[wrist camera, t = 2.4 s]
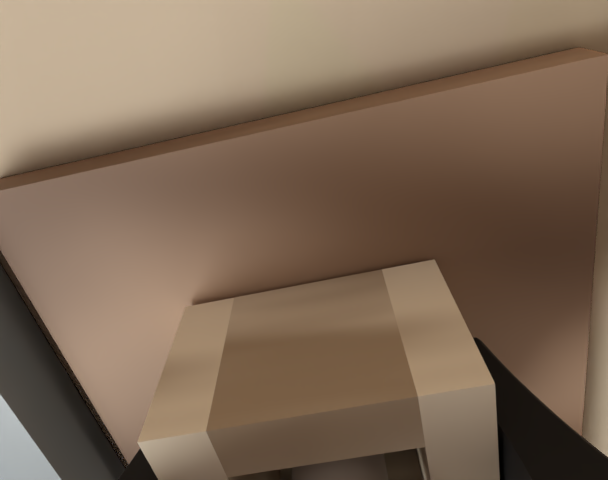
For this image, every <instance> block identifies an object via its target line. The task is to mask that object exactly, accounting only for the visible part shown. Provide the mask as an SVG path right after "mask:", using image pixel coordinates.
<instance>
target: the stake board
mask: <svg viewBox="0 0 608 480" xmlns="http://www.w3.org/2000/svg"><path fill="white" fill-rule="evenodd" d="M607 80H608V54H607V53H603V52H598V51H594V50H590V49H585V48H581V47H578V48H573V49H569V50H564V51H560V52H556V53H551V54H547V55H542V56H538V57H534V58H529V59H525V60H520V61H516V62H512V63H507V64H503V65H498V66H494V67H490V68H485V69H481V70H476V71H472V72H468V73H463V74H459V75H454V76H450V77H445V78H441V79H437V80H432V81H428V82H423V83H419V84H415V85H410V86H406V87H401V88H397V89H393V90H388V91H384V92H379V93H375V94H371V95H366V96H362V97H357V98H353V99H349V100H344V101H340V102H335V103H331V104H327V105H322V106H318V107H313V108H309V109H304V110H300V111H296V112H291V113H287V114H282V115H278V116H274V117H269V118H265V119H260V120H256V121H252V122H247V123H243V124H238V125H234V126H230V127H225V128H221V129H216V130H212V131H208V132H203V133H199V134H194V135H190V136H186V137H181V138H177V139H172V140H168V141H163V142H159V143H155V144H150V145H146V146H141V147H137V148H133V149H128V150H124V151H119V152H115V153H111V154H106V155H102V156H97V157H93V158H89V159H84V160H80V161H75V162H71V163H67V164H62V165H58V166H53V167H49V168H44V169H40V170H36V171H31V172H27V173H22V174H18V175H14V176H9V177H5V178H0V251H1V252H2V254H3V256H4V257H5V259H6V261H7V262H8V264H9V266H10V267H11V269H12V271H13V272H14V274H15V276H16V277H17V279H18V281H19V282H20V284H21V286H22V287H23V289H24V291H25V292H26V294H27V296H28V297H29V299H30V301H31V302H32V304H33V306H34V307H35V309H36V311H37V312H38V314H39V316H40V317H41V319H42V321H43V322H44V324H45V326H46V327H47V329H48V331H49V332H50V334H51V336H52V337H53V339H54V341H55V342H56V344H57V346H58V347H59V349H60V351H61V352H62V354H63V356H64V357H65V359H66V361H67V362H68V364H69V366H70V367H71V369H72V371H73V372H74V374H75V376H76V377H77V379H78V381H79V382H80V384H81V386H82V387H83V389H84V391H85V392H86V394H87V396H88V397H89V399H90V401H91V402H92V404H93V406H94V407H95V409H96V411H97V413H98V414H99V416H100V418H101V419H102V421H103V423H104V424H105V426H106V428H107V429H108V431H109V433H110V434H111V436H112V438H113V439H114V441H115V443H116V444H117V446H118V448H119V449H120V451H121V453H122V454H123V456H124V458H125V459H126V461H127V463H128V464H129V463H130V462H131V460H132V459H133V458H134V456H135V455H136V453H137V452H138V451H139V449H140V447H139V445H138V443H137V442H138V439H139V436H140V433H141V431H142V428H143V425H144V422H145V419H146V416H147V414H148V411H149V408H150V405H151V402H152V400H153V397H154V394H155V391H156V388H157V386H158V383H159V380H160V377H161V374H162V371H163V369H164V366H165V363H166V360H167V357H168V355H169V352H170V349H171V346H172V343H173V340H174V338H175V335H176V332H177V329H178V326H179V324H180V321H181V318H182V315H183V312H184V310H185V307H188V306H193V305H198V304H203V303H208V302H214V301H219V300H224V299H229V298H235V297H240V296H245V295H250V294H256V293H261V292H266V291H271V290H277V289H282V288H287V287H292V286H297V285H303V284H308V283H313V282H318V281H324V280H329V279H334V278H339V277H345V276H350V275H355V274H360V273H366V272H371V271H376V270H381V269H386V268H392V267H397V266H402V265H407V264H413V263H418V262H423V261H428V260H434V259H435V261H436V263H437V265H438V267H439V270H440V272H441V274H442V276H443V278H444V280H445V282H446V284H447V286H448V288H449V290H450V292H451V294H452V296H453V298H454V300H455V302H456V304H457V307H458V309H459V311H460V313H461V315H462V317H463V319H464V321H465V323H466V325H467V327H468V329H469V331H470V333H471V335H472V337H473V338H478V339H480V340H481V341H482V342H483V343H484V344H485V345H486V346H487V347H488V349H489V350H490V351H491V352H492V353H493V354H494V355H495V356H496V357H497V358H498V359H499V360H500V361H501V362H502V364H503V365H504V366H505V367H506V368H507V369H508V370H509V371H510V372H511V373H512V374H513V375H514V376H515V377H516V378H517V379H518V380H519V381H520V382H521V383H522V384H523V385H525V386H526V387H527V388H528V389H529V390H530V391H531V392H532V393H533V394H534V395H535V396H536V397H537V398H538V399H540V400H541V401H542V402H543V403H544V404H545V405H546V406H547V407H548V408H549V409H550V410H552V411H553V412H554V413H555V414H556V415H557V416H558V417H559V418H561V419H562V420H563V421H564V422H565V423H566V424H568V425H569V426H570V427H571V428H572V429H573V430H575V431H576V432H577V433H578V434H579V435H581V436H582V425H583V411H584V397H585V383H586V370H587V356H588V342H589V328H590V314H591V301H592V287H593V273H594V259H595V245H596V232H597V218H598V204H599V190H600V176H601V163H602V149H603V135H604V121H605V107H606V93H607ZM292 480H388V474H387V469H386V463H385V458H384V453H383V454H376V455H370V456H363V457H357V458H350V459H344V460H337V461H331V462H324V463H318V464H311V465H305V466H298V467H292Z"/></svg>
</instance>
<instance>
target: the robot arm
mask: <svg viewBox="0 0 608 480" xmlns="http://www.w3.org/2000/svg"><path fill="white" fill-rule="evenodd" d="M473 339H474V341H475V343H476V346H477V348H478V350H479V352H480V354H481V356H482V358H483V360H484V362H485V364H486V366H487V368H488V370H489V372H490V374H491V376H492V378H493V380H494V382H495V391H496V412H497V433H498V454H499V474H500V480H608V457H607V456H605V455H604V454H603V453H602V452H600V451H599V450H598V449H597V448H595V447H594V446H593V445H592V444H590V443H589V442H588V441H587V440H586V439H584V438H583V437H582V436H581V435H579V434H578V433H577V432H576V431H575V430H573V429H572V428H571V427H570V426H569V425H568V424H566V423H565V422H564V421H563V420H562V419H561V418H559V417H558V416H557V415H556V414H555V413H554V412H553V411H552V410H550V409H549V408H548V407H547V406H546V405H545V404H544V403H543V402H542V401H541V400H540V399H538V398H537V397H536V396H535V395H534V394H533V393H532V392H531V391H530V390H529V389H528V388H527V387H526V386H525V385H523V384H522V383H521V382H520V381H519V380H518V379H517V378H516V377H515V376H514V375H513V374H512V373H511V372H510V371H509V370H508V369H507V368H506V367H505V366H504V365H503V364H502V362H501V361H500V360H499V359H498V358H497V357H496V356H495V355H494V354H493V353H492V352H491V351H490V350H489V349H488V347H487V346H486V345H485V344H484V343H483V342H482V341H481V340H480V339H478V338H473ZM118 480H158V478H157V477H156V475H155V473H154V471H153V469H152V468H151V466H150V464H149V462H148V461H147V459H146V457H145V455H144V454H143V452H142V450H141V448H140V449H139V451H138V452H137V453H136V455H135V456H134V458H133V459H132V460H131V462H130V463H129V465H128V466H127V468H126V469H125V470H124V472H123V473H122V475H121V476H120V477H119V479H118Z"/></svg>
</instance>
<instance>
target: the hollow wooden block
mask: <svg viewBox="0 0 608 480" xmlns="http://www.w3.org/2000/svg"><path fill="white" fill-rule="evenodd" d="M137 443H138V445H139V447H140V448H141V450H142V452H143V454H144V455H145V457H146V459H147V461H148V462H149V464H150V466H151V468H152V469H153V471H154V473H155V475H156V477H157V478H158V480H292V467H298V466H305V465H311V464H318V463H324V462H331V461H337V460H344V459H350V458H357V457H363V456H370V455H376V454H383V453H384V458H385V463H386V469H387V474H388V480H500V474H499V454H498V433H497V412H496V391H495V382H494V380H493V378H492V376H491V374H490V372H489V370H488V368H487V366H486V364H485V362H484V360H483V358H482V356H481V354H480V352H479V350H478V348H477V346H476V343H475V341H474V339H473V337H472V335H471V333H470V331H469V329H468V327H467V325H466V323H465V321H464V319H463V317H462V315H461V313H460V311H459V309H458V307H457V304H456V302H455V300H454V298H453V296H452V294H451V292H450V290H449V288H448V286H447V284H446V282H445V280H444V278H443V276H442V274H441V272H440V270H439V267H438V265H437V263H436V261H435V259H434V260H428V261H423V262H418V263H413V264H407V265H402V266H397V267H392V268H386V269H381V270H376V271H371V272H366V273H360V274H355V275H350V276H345V277H339V278H334V279H329V280H324V281H318V282H313V283H308V284H303V285H297V286H292V287H287V288H282V289H277V290H271V291H266V292H261V293H256V294H250V295H245V296H240V297H235V298H229V299H224V300H219V301H214V302H208V303H203V304H198V305H193V306H188V307H185V310H184V312H183V315H182V318H181V321H180V324H179V326H178V329H177V332H176V335H175V338H174V340H173V343H172V346H171V349H170V352H169V355H168V357H167V360H166V363H165V366H164V369H163V371H162V374H161V377H160V380H159V383H158V386H157V388H156V391H155V394H154V397H153V400H152V402H151V405H150V408H149V411H148V414H147V416H146V419H145V422H144V425H143V428H142V431H141V433H140V436H139V439H138V442H137Z"/></svg>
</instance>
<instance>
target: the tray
mask: <svg viewBox="0 0 608 480" xmlns="http://www.w3.org/2000/svg"><path fill="white" fill-rule="evenodd" d="M124 470H125V468H124V466H123V465H122V463H121V461H120V460H119V458H118V456H117V455H116V453H115V451H114V450H113V448H112V447H111V445H110V443H109V442H108V440H107V438H106V437H105V435H104V433H103V432H102V430H101V428H100V427H99V425H98V423H97V422H96V420H95V419H94V417H93V415H92V414H91V412H90V410H89V409H88V407H87V405H86V404H85V402H84V400H83V399H82V397H81V396H80V394H79V392H78V391H77V389H76V387H75V386H74V384H73V382H72V381H71V379H70V377H69V376H68V374H67V372H66V371H65V369H64V368H63V366H62V364H61V363H60V361H59V359H58V358H57V356H56V354H55V353H54V351H53V349H52V348H51V346H50V345H49V343H48V341H47V340H46V338H45V336H44V335H43V333H42V331H41V330H40V328H39V326H38V325H37V323H36V322H35V320H34V318H33V317H32V315H31V313H30V312H29V310H28V308H27V307H26V305H25V303H24V302H23V300H22V298H21V297H20V295H19V294H18V292H17V290H16V289H15V287H14V285H13V284H12V282H11V280H10V279H9V277H8V275H7V274H6V272H5V271H4V269H3V267H2V266H1V264H0V480H118V479H119V477H120V476H121V475H122V473H123V472H124Z"/></svg>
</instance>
